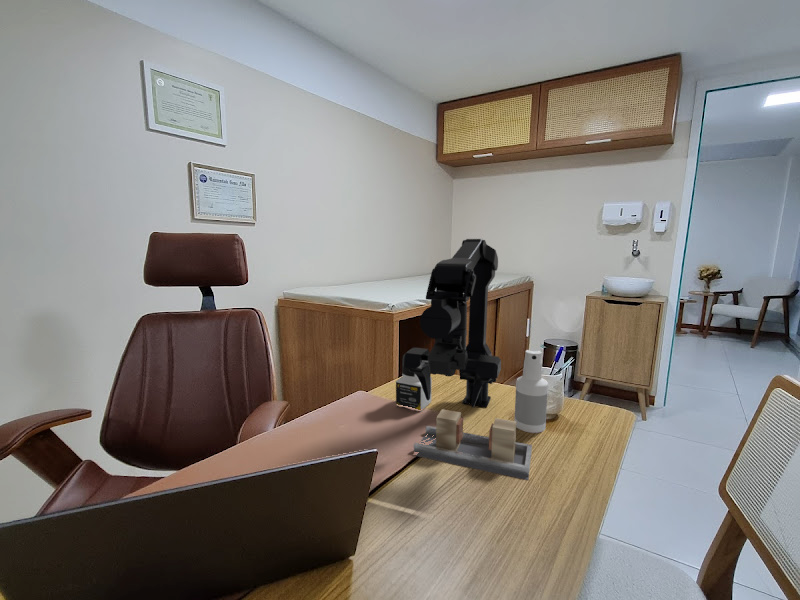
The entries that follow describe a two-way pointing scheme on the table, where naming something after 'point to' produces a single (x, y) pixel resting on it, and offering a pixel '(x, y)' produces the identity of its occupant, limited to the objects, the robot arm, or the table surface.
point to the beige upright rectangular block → (502, 440)
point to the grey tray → (474, 458)
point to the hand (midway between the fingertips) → (450, 403)
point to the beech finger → (449, 429)
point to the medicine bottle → (410, 391)
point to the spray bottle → (531, 395)
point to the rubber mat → (479, 451)
